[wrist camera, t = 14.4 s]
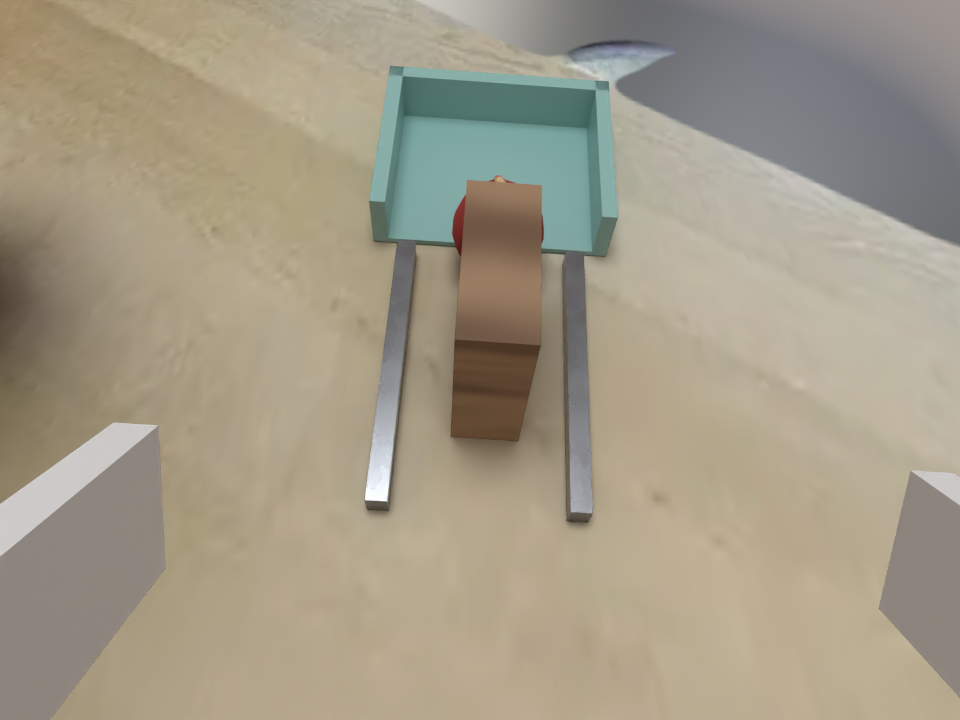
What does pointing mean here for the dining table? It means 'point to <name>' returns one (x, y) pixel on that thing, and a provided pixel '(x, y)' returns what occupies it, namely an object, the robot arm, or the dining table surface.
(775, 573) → the dining table surface
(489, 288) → the pusher block
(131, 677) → the dining table surface
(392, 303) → the slot rails
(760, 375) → the dining table surface
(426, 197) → the tray
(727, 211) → the dining table surface
